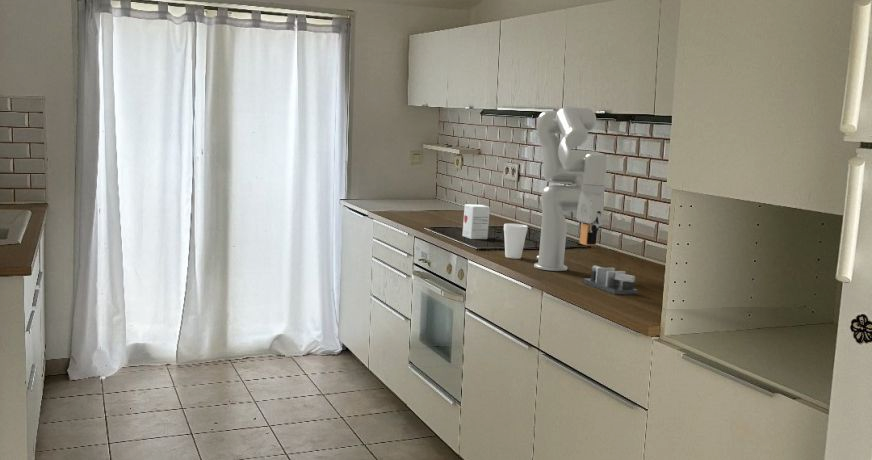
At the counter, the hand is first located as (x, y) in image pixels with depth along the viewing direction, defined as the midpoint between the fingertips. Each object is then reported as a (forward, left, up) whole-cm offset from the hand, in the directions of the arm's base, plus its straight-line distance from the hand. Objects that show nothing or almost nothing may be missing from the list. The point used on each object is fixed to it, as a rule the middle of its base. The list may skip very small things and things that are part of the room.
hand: (587, 242), depth 308 cm
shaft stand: (+4, +7, -15) cm, 18 cm away
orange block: (0, 0, -1) cm, 1 cm away
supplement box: (-110, +9, -15) cm, 111 cm away
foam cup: (-58, +2, -15) cm, 60 cm away
